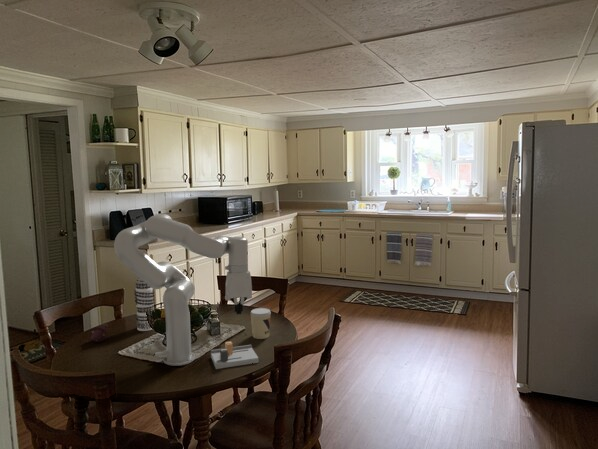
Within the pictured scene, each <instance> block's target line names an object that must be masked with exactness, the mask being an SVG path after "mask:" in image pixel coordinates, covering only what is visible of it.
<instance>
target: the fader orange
mask: <svg viewBox="0 0 598 449" xmlns="http://www.w3.org/2000/svg"><path fill="white" fill-rule="evenodd" d="M224 346H225V347H224V348H226V349H227V351H228V354H233V347H234V346H233V341H225V344H224Z"/></svg>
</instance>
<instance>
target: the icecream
mask: <svg viewBox="0 0 598 449" xmlns="http://www.w3.org/2000/svg"><path fill="white" fill-rule="evenodd" d="M108 327H109V325H108V324H103V325H102V326H97V327H96V326H95V327H94V328H92V329H91V330H89V331H90V332H89V333H90V335H89V336H90V339H89V340H90V341H93V342H96V343H102V342H103V341H104V340H106V338H107V336H108V330H107V329H108Z"/></svg>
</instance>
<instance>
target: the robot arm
mask: <svg viewBox="0 0 598 449" xmlns="http://www.w3.org/2000/svg"><path fill="white" fill-rule="evenodd" d="M156 239H160V240H163V241H166V242H169V243H172V244H175V245H179V246H181V247H183V248H184V249H186V250H188V251H190V252H192V253H195V254H197V255H198V256H203V257H205V258H210V259H219V258H221V257H223V256H224V255H226V254H228V263H227V265H226V266H225V267H224V270H226V271H227V272H226V277H225V285H224V286H225V288H224V290H225V292H224V293H225V296H224V299H225V301H230V302H231V303H233V304H234V313H236V315H242V312H243V311H244V310H243V306H244V303H245V302H246V301H247V300H250V299H252V298H253V296H252V295H253V285H252V275H251V271H250V270H249V262H248V261H249V255H248V253H249V252H248V251H249V249H248V248H249V246H248V245H249V244H248V243H249V242H248V239H247V238H246V237H244V236H235V237H232V236H225V235H217V236H215V237H213V238H212V237H208V236H206V235H202V234H200V233H197V232H196V231H195V230H193V228H192V226H190V225H189V224H186V223H183V222H181V221H180V222H179V221H177V220H174V219H173V218H172V217H171V216H170V215H169V214H166V213H158V214H155V215H152V216H150V217H148V219H147V220H145V221H143V222H141V223H139V224H137V225H134V226H131V227H127V228H125V229H124V228H123V229H122V230H121V231H120V232H118V234H116V237H115V239H114V242H113V247H114V248H113V249H114V252H115V255H116V257H117V258H118V260H119V261H120V262H121V263H122V264H124V266H126V267H127V268H128V269H129V270H131V272H133V273H134V274H135V276H137V277H138V278H141V279H142V280H143V281H144V282H145V283H146V284H147V285H148V286H150V287H151V288H153V290H160V289H162V288H165V290H164V292H163V296H162V304H163V308H164V316H165V318H164V319H165V335H166V336H165V337H166V347H165V350H163V351H156V352H155V353H154V354H155V358H158V359H160V360H161V359H162V360H163V363H164V364H165V365H166V366H167V365H168V366H172V367H173V366H174V367H176V366H178V367H179V366H184V365H189V364H190V363H192V362H193V361H195V360H196V354H195V353H194V352H192V337H191V336H192V335H191V315H190V314H191V313H190V308H189V301H190V300H191V299H192V298H193V296H194V294H195V291H196V290H195V285H194V283H193V282H192V280H191V279H190V278H188V276H186V275H185V274H184V273H183V272H181V270H179V268H178V267H176V266H175V265H174V264H172V263H170V262H168V261H159V262H156V261H155V260H153V258H152V257H150V255H148V254H147V253H145V252H144V251H142V250H140V249H139V247H142V246H143V245H146V244H148V243H150V242H152V241H155V240H156ZM238 299H239V301H238Z"/></svg>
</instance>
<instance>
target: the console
mask: <svg viewBox="0 0 598 449" xmlns="http://www.w3.org/2000/svg"><path fill="white" fill-rule="evenodd" d="M224 348H225V347H224ZM224 348H222V349H224ZM220 349H221V348H216V349H210V358H211V360H212V363H213V365H214V368H215V370H218V369H225V368H230V367H231V368H232V367H238V366H245V365H251V364H252V363H253V364H257V363H259V356H258V355H257V353H256V352H255V351H254V349H253V346H252V344H244V345H240V346H239V345H237V346H233V354H228V361H224V362H222V361H221V359H220Z"/></svg>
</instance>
